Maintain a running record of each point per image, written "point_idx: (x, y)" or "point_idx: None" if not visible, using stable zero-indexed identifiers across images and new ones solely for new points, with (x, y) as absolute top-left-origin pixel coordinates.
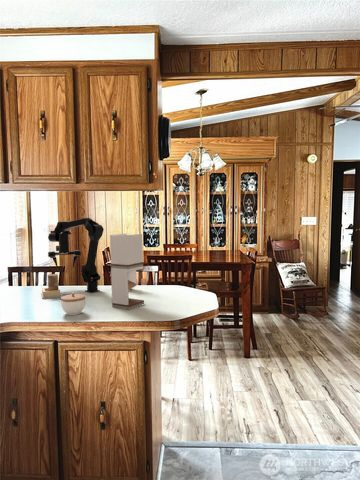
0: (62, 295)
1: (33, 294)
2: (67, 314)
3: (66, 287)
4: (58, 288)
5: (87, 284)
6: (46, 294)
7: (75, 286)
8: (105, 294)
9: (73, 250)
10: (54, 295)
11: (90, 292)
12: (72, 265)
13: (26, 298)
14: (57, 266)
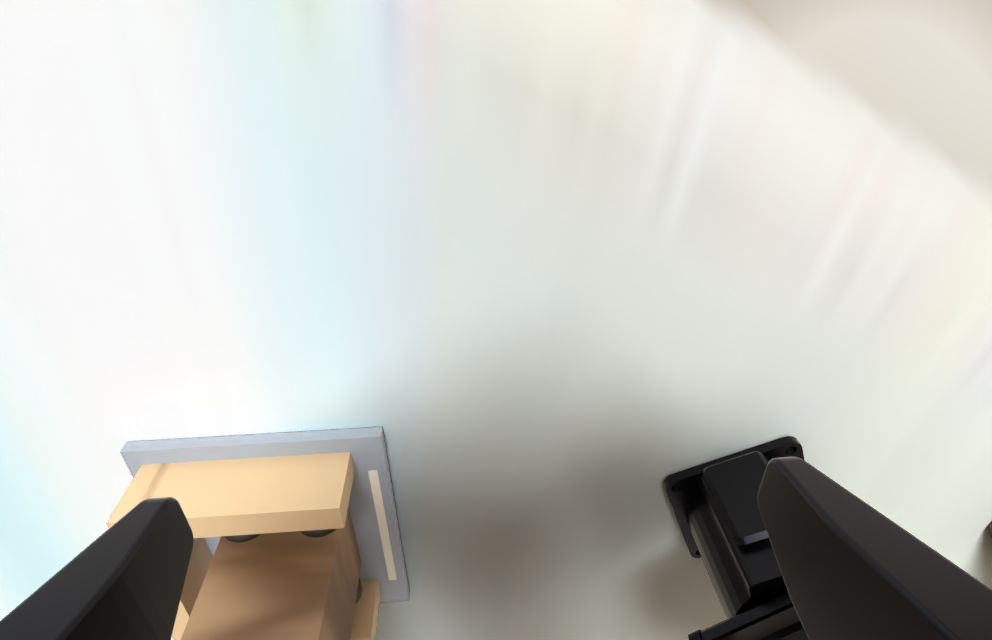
0: (401, 597)
1: (5, 404)
2: None
3: (481, 75)
4: (346, 513)
5: (715, 586)
6: None
7: (659, 53)
8: None
9: None
10: None
11: (691, 552)
12: (790, 527)
13: (11, 552)
14: (172, 621)
